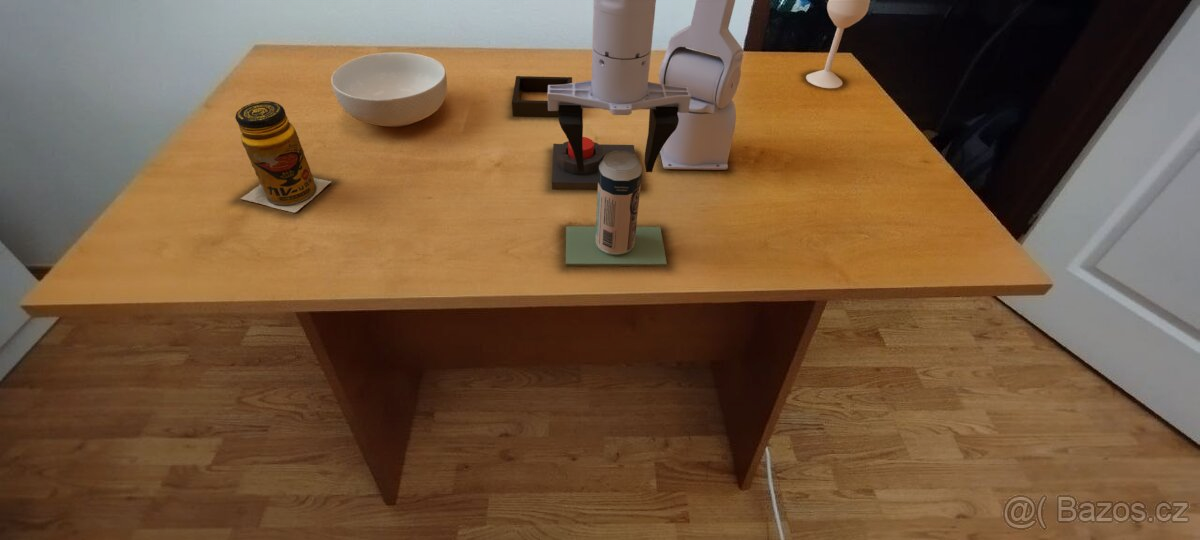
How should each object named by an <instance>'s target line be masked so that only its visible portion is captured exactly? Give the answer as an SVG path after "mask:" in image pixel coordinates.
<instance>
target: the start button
mask: <svg viewBox="0 0 1200 540" xmlns="http://www.w3.org/2000/svg"><path fill="white" fill-rule="evenodd" d="M567 142H568V141H567ZM594 142H595V141H594V140H592V139H591V138H589V137H587V136H583V139H582V143H583V160H585V159H588V158H592V157H593V155H594ZM568 155H569V157H571V158H574V159H575V156H574V153H573V150H572V147H571V145H570V143H569V142H568Z"/></svg>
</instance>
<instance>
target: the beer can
mask: <svg viewBox="0 0 1200 540" xmlns="http://www.w3.org/2000/svg"><path fill="white" fill-rule="evenodd" d="M642 178H643V165H642V164H641V162H640V159H639V158H638V157H637V155H636V154H635V155H634V154H632V153H629V152H627V151H613V152H610V153H608V154H606V155H605V157H604V158H603V160H602V161H601V163H600V164H599V170H598V190H597V193H596V194H597V195H596V219H595V227H596V239H595V241H596V245H597V246H598V248H599V249H601V250H602V251H604V252H606V253H609V254H616V255H617V254H624V253H627V252H628V251H630V250H631V249H632V248H633V246H634V244H635V235H636V227H637V224H638V215H639V205H640V197H641V195H640V194H641V185H642Z"/></svg>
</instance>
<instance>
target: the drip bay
mask: <svg viewBox="0 0 1200 540" xmlns="http://www.w3.org/2000/svg"><path fill="white" fill-rule="evenodd" d="M570 83H573V76H534V75H533V76H531V75H530V76H529V75H516V76H515V81H514V86H513V94H512V98H511V99H512V100H511V108H512V117H520V118H521V117H522V118H523V117H524V118H559V110H558V111H548V100H529V99H525V100H524V99H521V97H522V93H523V92H524V93H529V92H530V93H548V85H562V84H570Z"/></svg>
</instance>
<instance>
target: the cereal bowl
mask: <svg viewBox="0 0 1200 540" xmlns="http://www.w3.org/2000/svg"><path fill="white" fill-rule="evenodd" d="M330 83H331V87H332V91H333V94H334V96H335V98H336V101H337V103H338V104H339V105H340V107H341V108H342V109H343V111H345V112H346V113H347V114H348V115H349V116H351V117H352V118H355V119H356V120H359V121H360V122H363V123H365V124H370V125H374V126H375V125H376V126H382V127H386V128H397V127H398V128H399V127H400V128H401V127H406V126H409V125H412V124H414V123H415V124H416V122H420V121H422V120H425V119H427V118H428V117H430V116H431V115H433V114H434V113H435V112H437V111H438V110H439V108H441V106H442V105H443V103H444V101H445V99H446V95H447V92H448V91H447V90H448V80H447V72H446V68H445V66H444V65H443V64H442V62H440V61H439V60H437V59H436V58H433V57H430V56H427V55H424V54H419V53H415V52H414V53H413V52H405V51H403V52H402V51H389V52H388V51H387V52H376V53H371V54H367V55H362V56H359V57H355V58H353V59H350V60H348V61H346V62H344V63H342V64H341V65H340V66H339V67H337V68H336V69H335V70H334V71H333V73H332V75H331V78H330Z"/></svg>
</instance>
